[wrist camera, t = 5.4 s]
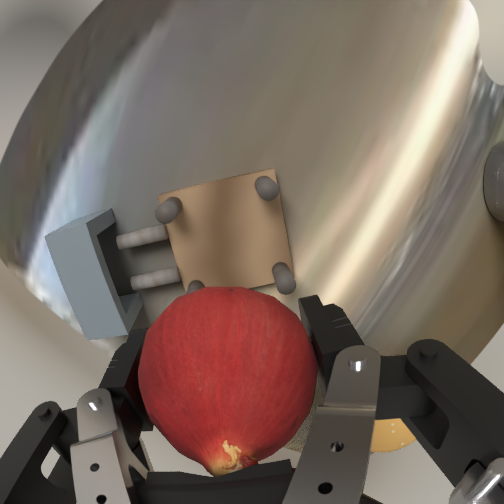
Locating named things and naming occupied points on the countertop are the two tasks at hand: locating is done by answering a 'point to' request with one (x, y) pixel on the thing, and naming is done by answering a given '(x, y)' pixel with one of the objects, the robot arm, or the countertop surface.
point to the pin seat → (220, 235)
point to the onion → (227, 376)
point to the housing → (91, 278)
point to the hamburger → (390, 435)
